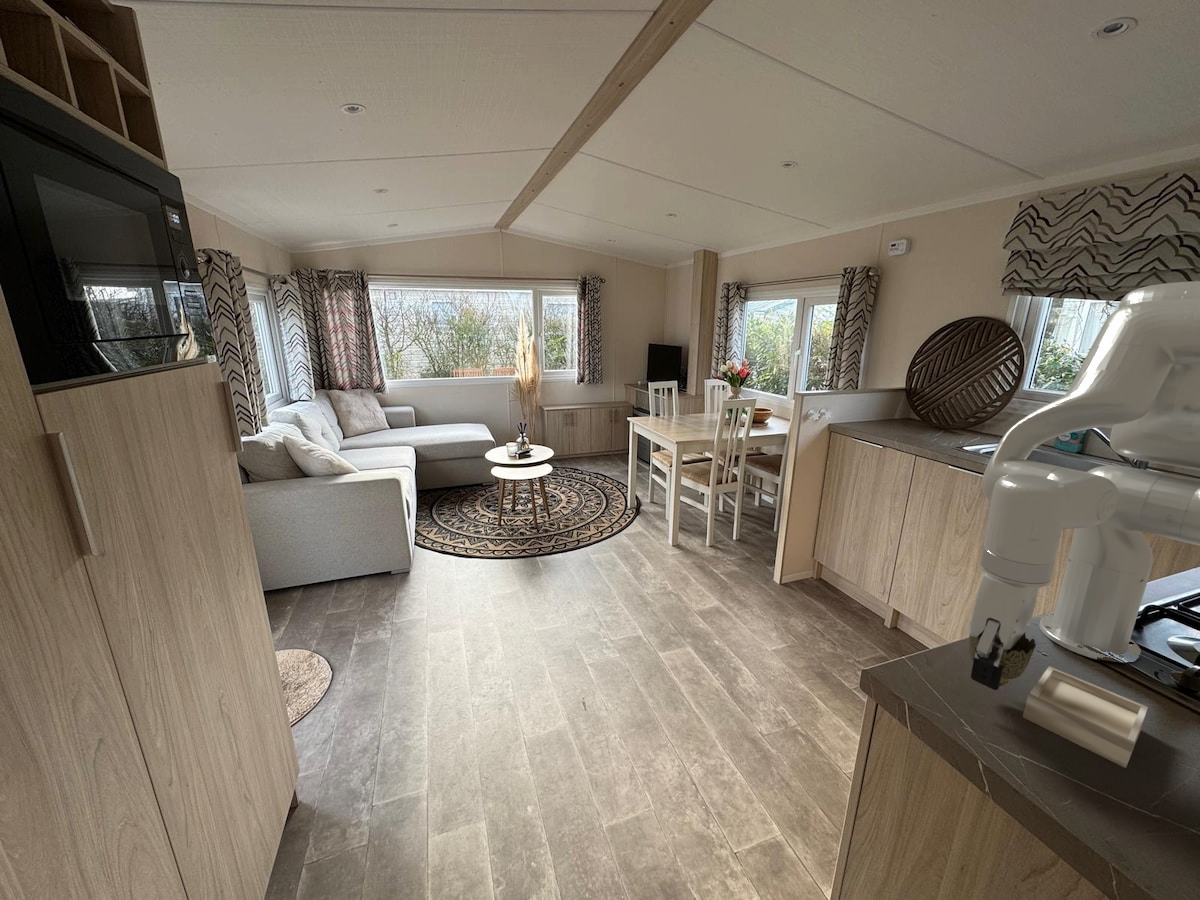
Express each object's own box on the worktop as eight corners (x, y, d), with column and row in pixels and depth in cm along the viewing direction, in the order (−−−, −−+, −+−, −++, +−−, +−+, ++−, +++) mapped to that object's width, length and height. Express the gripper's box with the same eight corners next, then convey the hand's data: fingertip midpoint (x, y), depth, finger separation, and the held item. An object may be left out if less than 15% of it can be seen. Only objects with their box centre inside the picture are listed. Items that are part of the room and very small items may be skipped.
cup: (1037, 701, 67) (1049, 652, 65) (977, 695, 69) (987, 647, 67) (1005, 664, 74) (1015, 619, 72) (952, 660, 76) (959, 615, 74)
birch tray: (1044, 686, 74) (1049, 665, 73) (1140, 729, 66) (1148, 707, 65) (1022, 717, 69) (1028, 695, 68) (1125, 768, 61) (1133, 744, 60)
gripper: (1003, 536, 74) (984, 636, 79) (958, 573, 65) (939, 684, 69) (1069, 554, 68) (1044, 661, 73) (1030, 597, 59) (1004, 717, 64)
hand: (993, 671), depth 71 cm, fingers closed on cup, 6 cm apart
